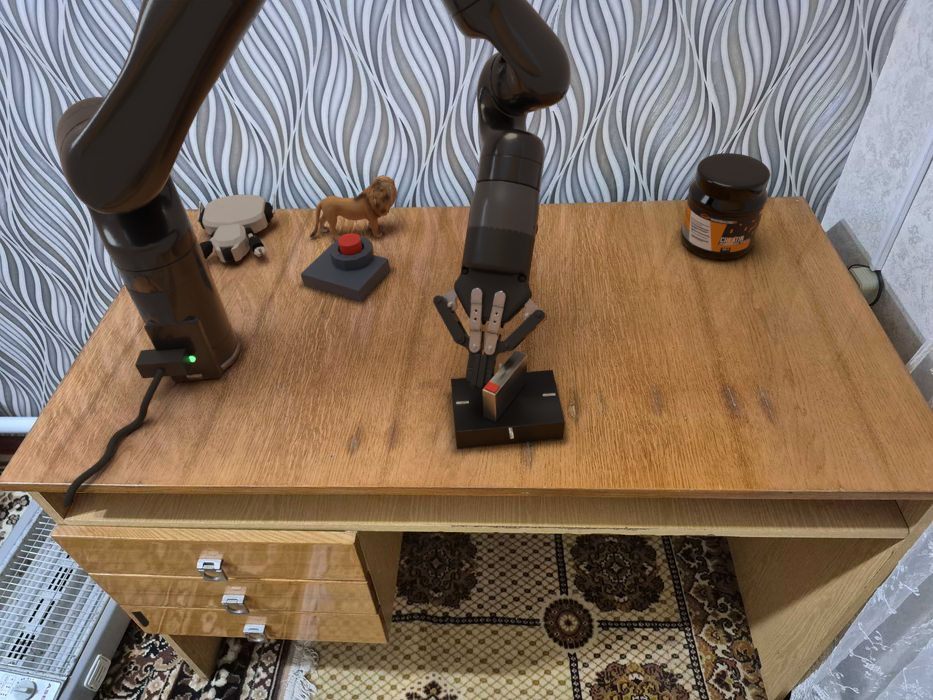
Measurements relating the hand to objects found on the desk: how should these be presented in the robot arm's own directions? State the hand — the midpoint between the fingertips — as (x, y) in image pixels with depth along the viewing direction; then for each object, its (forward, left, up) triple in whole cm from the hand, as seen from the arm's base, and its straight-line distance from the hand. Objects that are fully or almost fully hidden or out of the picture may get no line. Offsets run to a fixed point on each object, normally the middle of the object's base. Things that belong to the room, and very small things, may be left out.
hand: (478, 387), depth 72 cm
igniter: (+29, +17, -6) cm, 34 cm away
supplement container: (+30, -38, -6) cm, 49 cm away
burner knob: (0, -3, -3) cm, 4 cm away
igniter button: (+31, +16, -2) cm, 35 cm away
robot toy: (+41, +35, -6) cm, 54 cm away
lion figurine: (+41, +16, -6) cm, 45 cm away
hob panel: (0, -3, -6) cm, 6 cm away
